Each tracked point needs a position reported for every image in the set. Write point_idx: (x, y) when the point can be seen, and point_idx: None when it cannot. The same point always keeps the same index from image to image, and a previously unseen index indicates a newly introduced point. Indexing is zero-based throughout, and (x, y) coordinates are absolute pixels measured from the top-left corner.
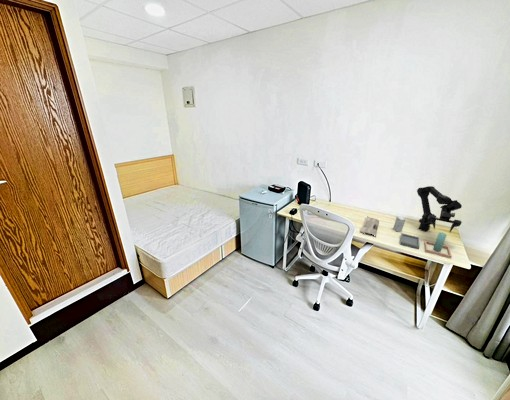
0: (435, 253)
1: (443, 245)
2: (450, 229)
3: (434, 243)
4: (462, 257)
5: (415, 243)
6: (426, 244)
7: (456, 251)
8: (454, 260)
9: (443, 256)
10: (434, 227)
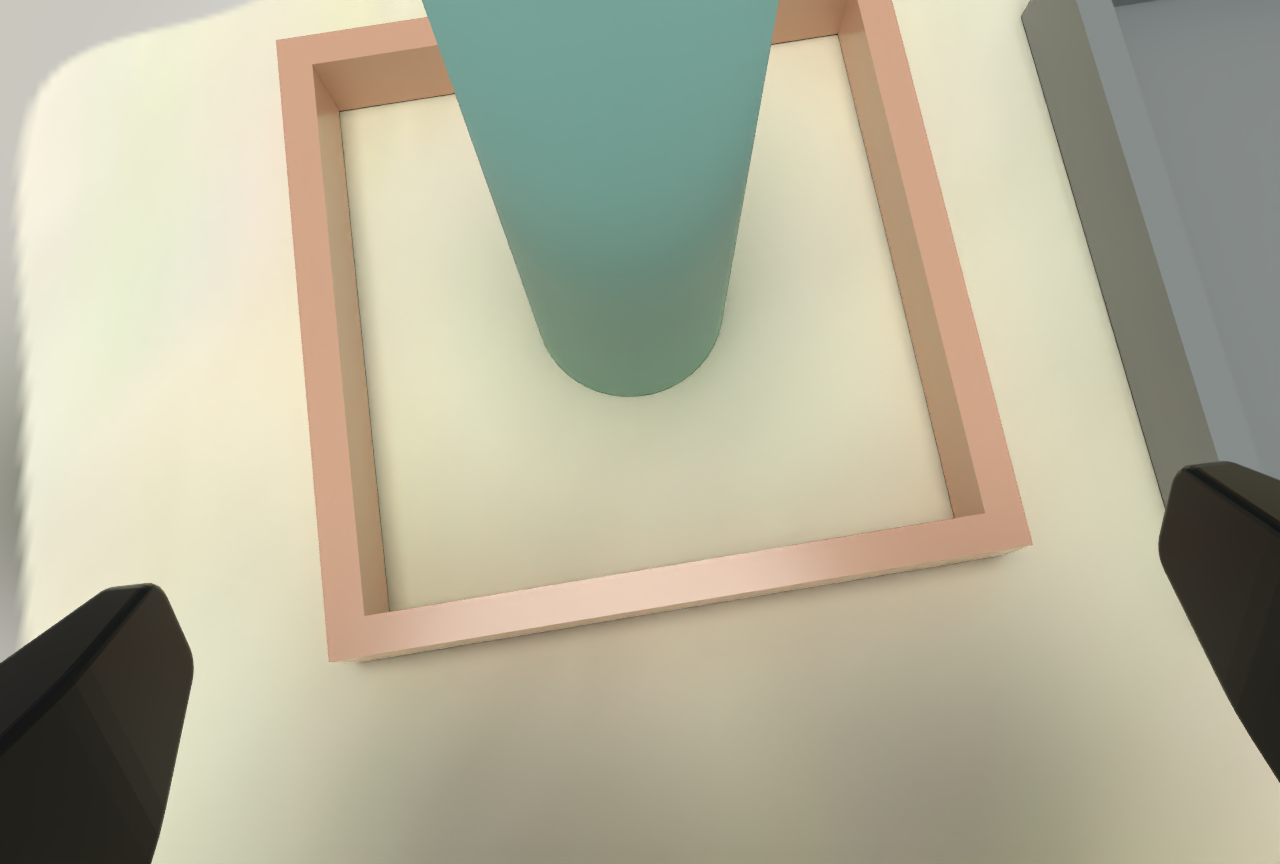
0: None
1: (484, 613)
2: (41, 758)
3: (743, 554)
4: (36, 364)
5: (1194, 213)
6: (933, 282)
7: None
8: (233, 54)
9: None
10: (1263, 480)
